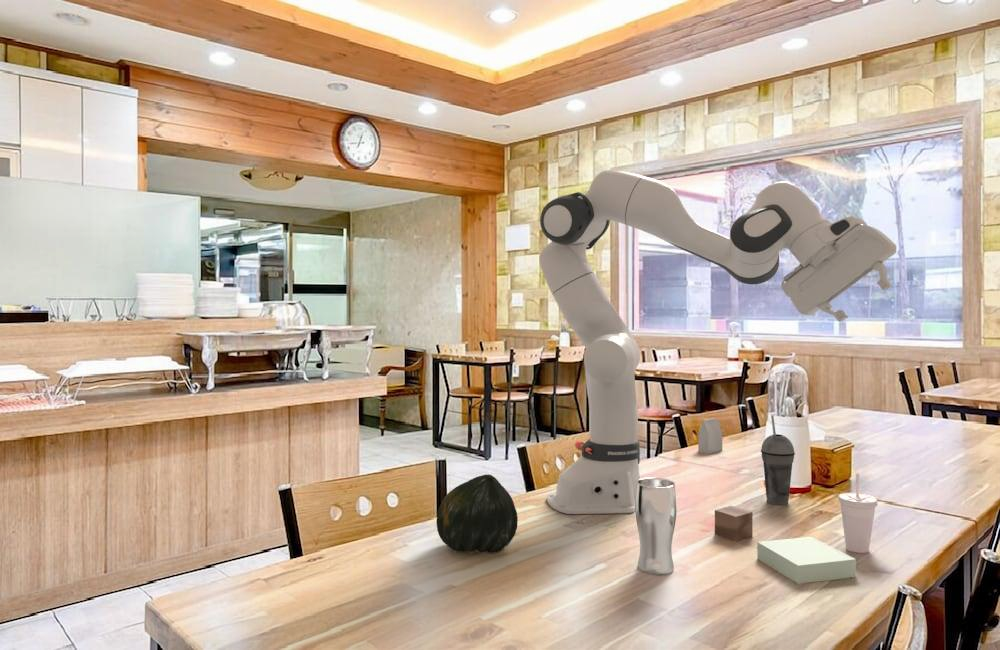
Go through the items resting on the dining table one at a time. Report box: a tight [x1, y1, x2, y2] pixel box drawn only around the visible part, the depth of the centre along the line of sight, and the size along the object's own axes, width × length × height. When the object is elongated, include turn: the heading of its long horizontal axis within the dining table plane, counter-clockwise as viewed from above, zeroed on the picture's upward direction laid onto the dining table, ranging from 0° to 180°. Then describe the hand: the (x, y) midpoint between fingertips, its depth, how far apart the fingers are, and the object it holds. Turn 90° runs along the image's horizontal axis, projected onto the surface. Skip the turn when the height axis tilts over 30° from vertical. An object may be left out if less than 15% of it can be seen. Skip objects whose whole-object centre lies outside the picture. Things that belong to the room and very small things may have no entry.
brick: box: [714, 505, 754, 543], centre depth 130 cm, size 5×5×5 cm
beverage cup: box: [760, 414, 796, 506], centre depth 151 cm, size 7×7×20 cm
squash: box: [436, 474, 519, 554], centre depth 124 cm, size 14×15×15 cm
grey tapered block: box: [697, 417, 723, 455], centre depth 204 cm, size 4×7×10 cm, turn 124°
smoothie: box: [837, 472, 878, 554], centre depth 122 cm, size 6×6×14 cm
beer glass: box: [634, 477, 678, 576], centre depth 114 cm, size 7×7×15 cm
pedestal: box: [756, 536, 857, 584], centre depth 114 cm, size 11×11×3 cm
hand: (865, 304), depth 122 cm, fingers open, 8 cm apart
